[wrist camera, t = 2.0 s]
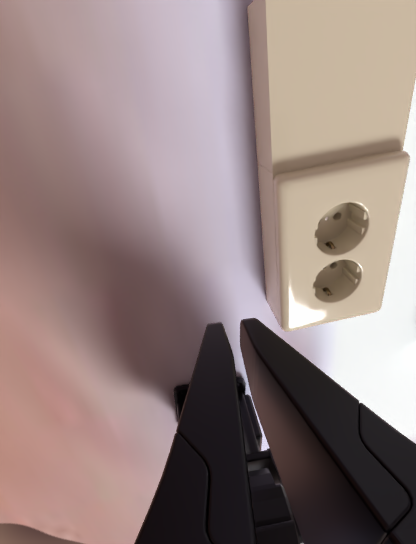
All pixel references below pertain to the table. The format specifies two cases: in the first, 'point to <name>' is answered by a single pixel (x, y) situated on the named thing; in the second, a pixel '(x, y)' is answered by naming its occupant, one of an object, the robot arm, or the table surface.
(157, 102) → the table surface
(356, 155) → the electrical outlet
